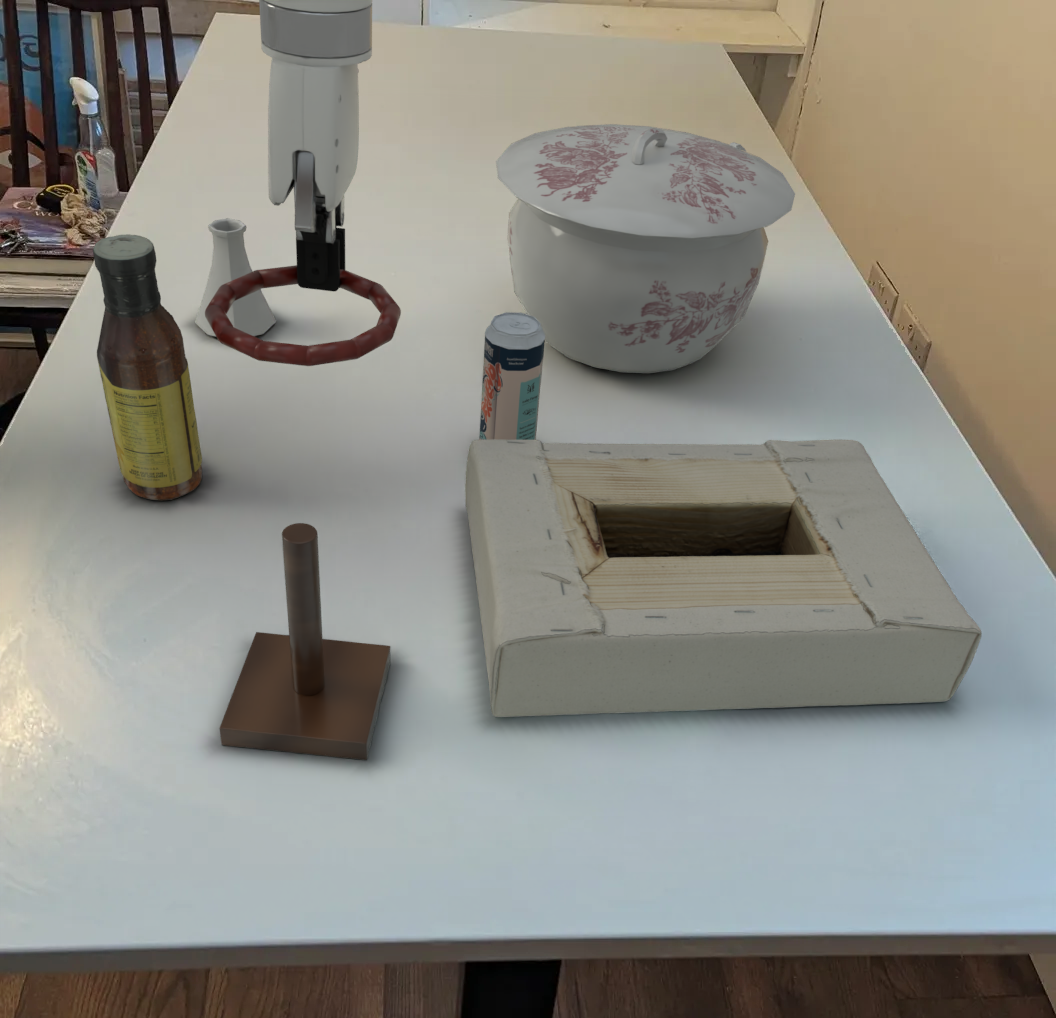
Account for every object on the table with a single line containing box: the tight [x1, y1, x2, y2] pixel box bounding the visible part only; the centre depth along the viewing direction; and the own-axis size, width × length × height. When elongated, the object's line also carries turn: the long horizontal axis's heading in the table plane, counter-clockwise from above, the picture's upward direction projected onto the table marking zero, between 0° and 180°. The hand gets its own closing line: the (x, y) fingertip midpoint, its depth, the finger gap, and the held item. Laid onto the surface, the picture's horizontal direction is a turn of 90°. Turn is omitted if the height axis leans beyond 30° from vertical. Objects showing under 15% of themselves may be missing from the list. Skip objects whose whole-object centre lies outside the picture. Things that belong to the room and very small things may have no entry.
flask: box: [194, 217, 277, 337], centre depth 112 cm, size 7×7×10 cm
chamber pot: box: [495, 123, 796, 374], centre depth 112 cm, size 28×28×21 cm
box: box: [464, 438, 983, 718], centre depth 84 cm, size 23×8×32 cm
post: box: [218, 522, 391, 761], centre depth 72 cm, size 9×9×14 cm
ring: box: [205, 264, 402, 367], centre depth 87 cm, size 14×14×1 cm
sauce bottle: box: [92, 233, 203, 501], centre depth 87 cm, size 6×6×20 cm
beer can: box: [478, 311, 546, 440], centre depth 97 cm, size 5×5×12 cm
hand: (321, 280), depth 92 cm, fingers closed on ring, 1 cm apart
